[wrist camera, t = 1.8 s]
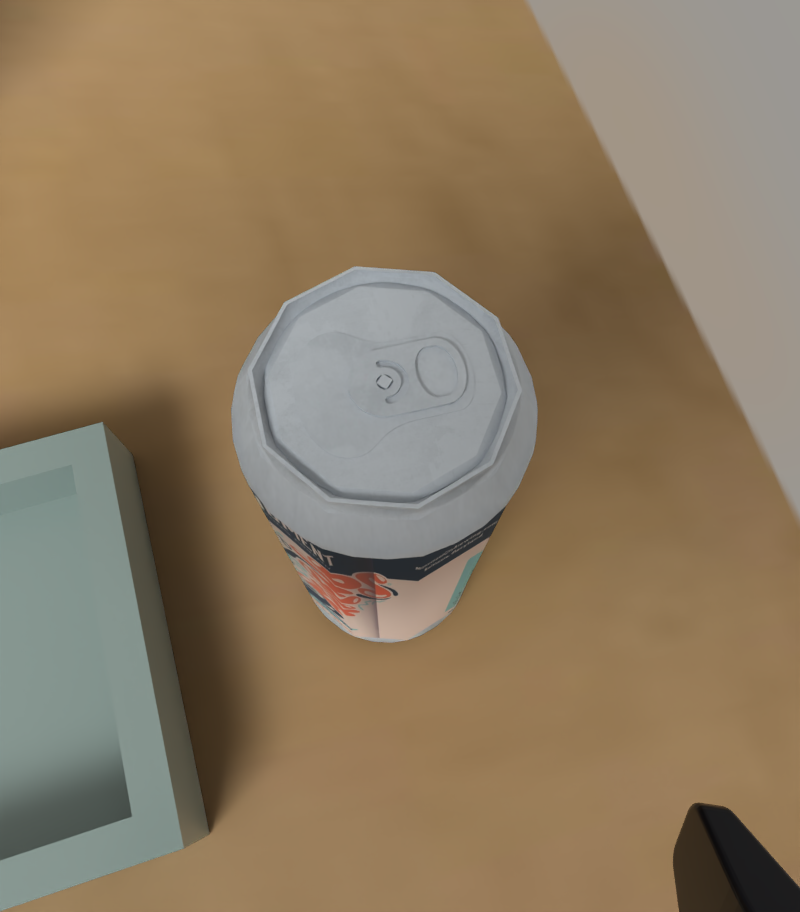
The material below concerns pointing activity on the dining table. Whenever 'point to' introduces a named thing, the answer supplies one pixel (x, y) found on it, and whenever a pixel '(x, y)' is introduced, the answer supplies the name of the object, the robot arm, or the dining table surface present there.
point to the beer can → (384, 442)
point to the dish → (85, 674)
